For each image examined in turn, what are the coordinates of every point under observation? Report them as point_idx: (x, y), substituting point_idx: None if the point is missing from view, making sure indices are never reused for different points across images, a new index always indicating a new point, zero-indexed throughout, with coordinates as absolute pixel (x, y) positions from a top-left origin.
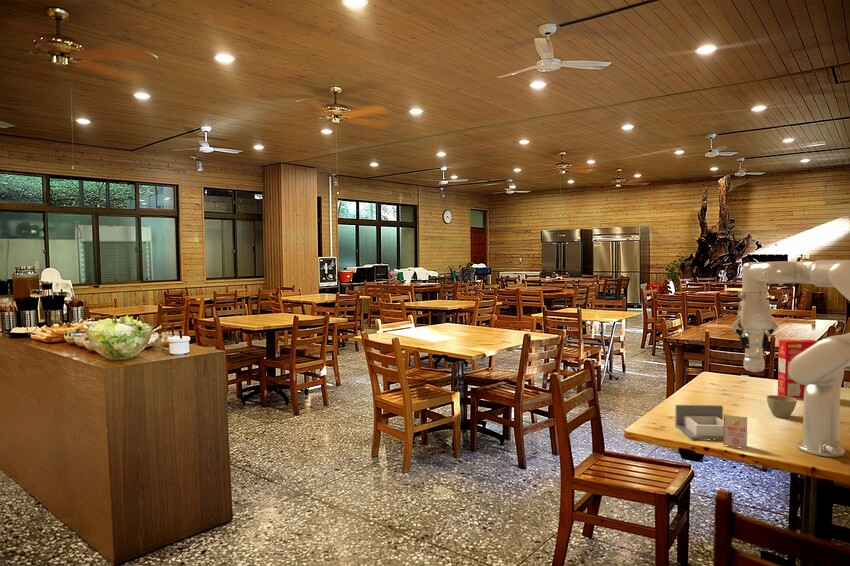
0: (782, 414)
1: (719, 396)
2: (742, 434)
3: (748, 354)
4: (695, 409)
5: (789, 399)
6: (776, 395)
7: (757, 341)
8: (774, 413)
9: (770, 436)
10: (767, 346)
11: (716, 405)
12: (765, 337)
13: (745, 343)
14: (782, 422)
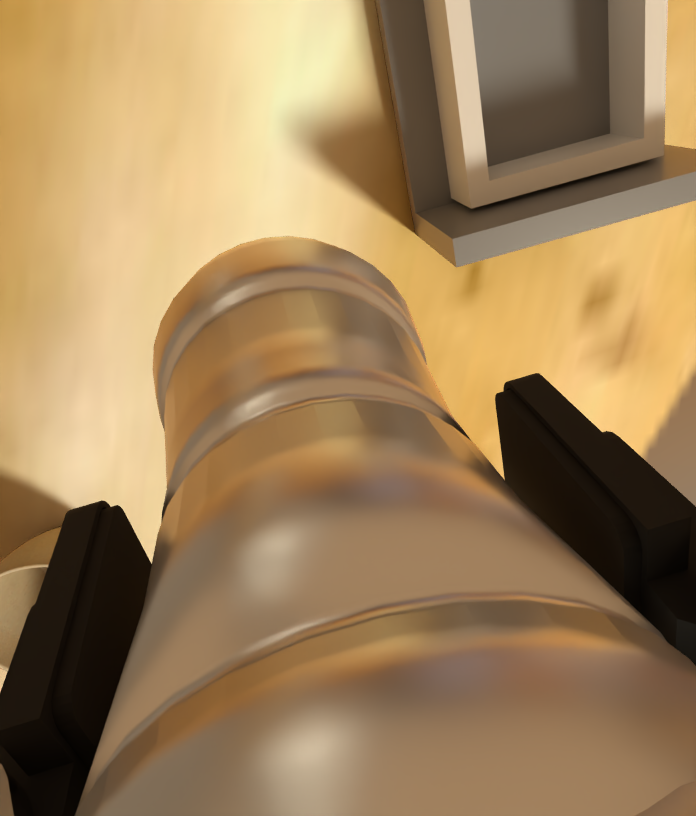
0: None
1: None
2: None
3: (414, 354)
4: (614, 187)
5: (9, 655)
6: None
7: (313, 465)
8: None
9: (163, 113)
10: (62, 528)
11: (486, 253)
12: (62, 717)
13: (570, 418)
14: (74, 443)
